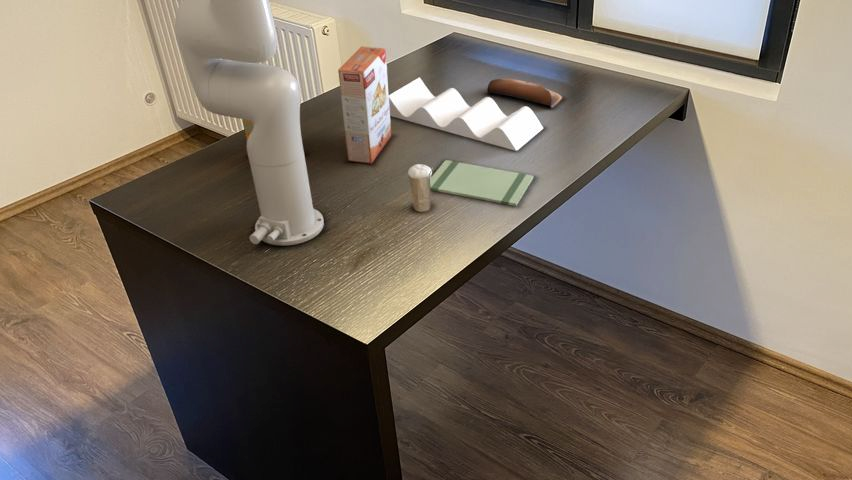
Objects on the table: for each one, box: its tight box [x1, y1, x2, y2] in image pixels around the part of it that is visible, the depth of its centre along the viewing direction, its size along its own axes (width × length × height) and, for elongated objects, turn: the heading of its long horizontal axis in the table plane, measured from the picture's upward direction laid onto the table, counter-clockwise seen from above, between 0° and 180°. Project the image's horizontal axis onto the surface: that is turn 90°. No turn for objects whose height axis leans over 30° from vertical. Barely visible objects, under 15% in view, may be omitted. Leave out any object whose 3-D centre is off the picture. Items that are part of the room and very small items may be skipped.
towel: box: [431, 159, 535, 207], centre depth 156 cm, size 12×20×1 cm, turn 71°
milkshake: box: [407, 163, 434, 213], centre depth 145 cm, size 4×5×10 cm
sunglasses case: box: [486, 78, 563, 109], centre depth 189 cm, size 18×7×7 cm
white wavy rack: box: [389, 77, 544, 152], centre depth 177 cm, size 13×35×5 cm, turn 60°
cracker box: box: [337, 46, 392, 165], centre depth 161 cm, size 14×6×21 cm, turn 168°
